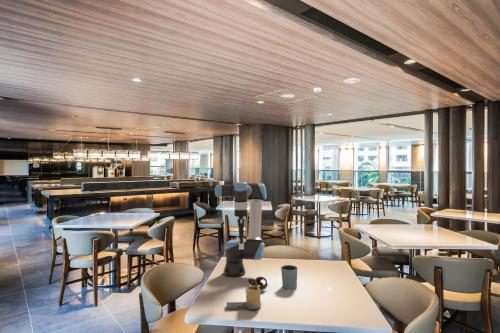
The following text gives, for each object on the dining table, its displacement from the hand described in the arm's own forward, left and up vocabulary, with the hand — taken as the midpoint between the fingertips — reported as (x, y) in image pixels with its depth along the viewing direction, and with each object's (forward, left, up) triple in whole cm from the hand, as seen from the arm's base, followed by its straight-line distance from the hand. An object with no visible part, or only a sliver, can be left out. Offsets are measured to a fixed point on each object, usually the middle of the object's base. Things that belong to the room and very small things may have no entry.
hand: (241, 246), depth 171 cm
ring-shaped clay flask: (-10, +10, -29) cm, 33 cm away
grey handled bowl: (+14, 0, -29) cm, 32 cm away
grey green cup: (-12, +30, -29) cm, 43 cm away
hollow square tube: (+14, +6, -27) cm, 31 cm away
